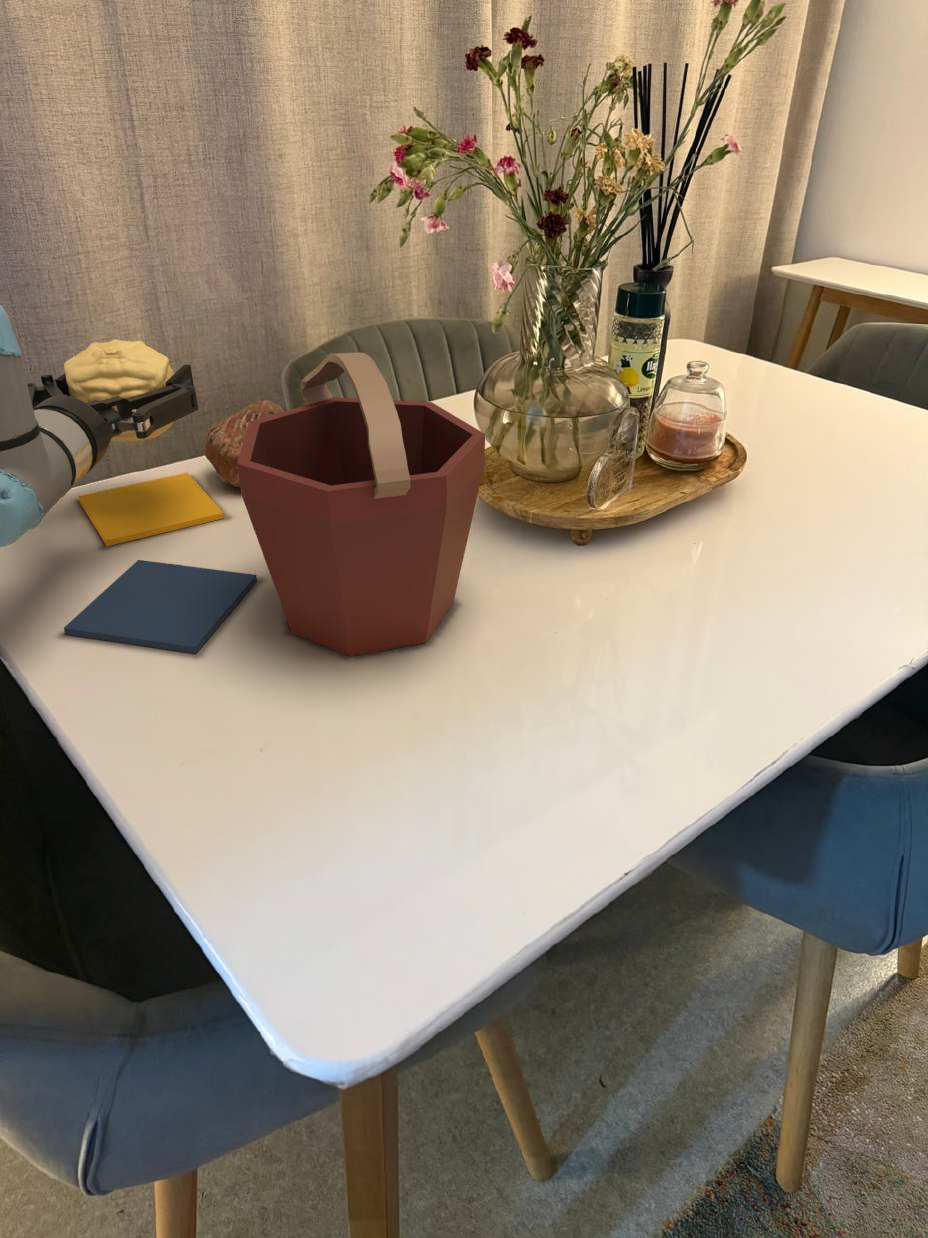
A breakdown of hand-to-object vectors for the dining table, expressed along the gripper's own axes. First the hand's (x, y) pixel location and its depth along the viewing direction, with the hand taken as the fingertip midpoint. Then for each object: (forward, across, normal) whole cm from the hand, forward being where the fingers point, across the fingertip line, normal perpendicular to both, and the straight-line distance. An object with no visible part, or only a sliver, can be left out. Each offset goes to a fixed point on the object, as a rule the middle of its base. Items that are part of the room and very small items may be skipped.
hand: (137, 374), depth 104 cm
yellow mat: (-3, 0, -16) cm, 16 cm away
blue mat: (-25, +9, -16) cm, 31 cm away
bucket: (-24, +31, -16) cm, 42 cm away
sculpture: (-4, 0, -6) cm, 7 cm away
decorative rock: (+7, +11, -16) cm, 21 cm away
